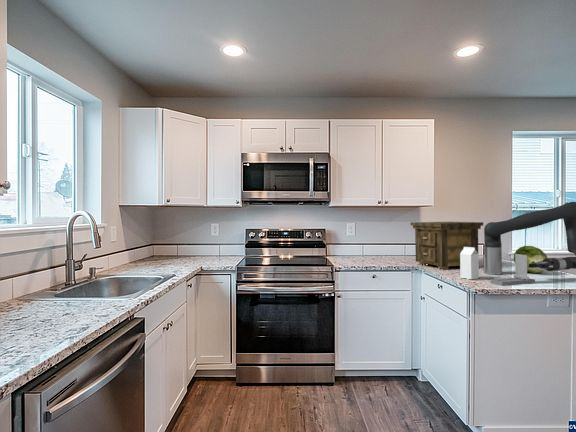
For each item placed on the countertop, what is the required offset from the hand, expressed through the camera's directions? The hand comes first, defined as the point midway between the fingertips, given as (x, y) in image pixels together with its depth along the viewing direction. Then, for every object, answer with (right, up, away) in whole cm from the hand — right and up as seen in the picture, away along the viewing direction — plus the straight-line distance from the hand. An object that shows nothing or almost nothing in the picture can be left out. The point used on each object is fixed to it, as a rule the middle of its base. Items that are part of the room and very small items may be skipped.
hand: (529, 265), depth 193 cm
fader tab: (-6, -7, -1) cm, 9 cm away
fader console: (-11, -9, -3) cm, 15 cm away
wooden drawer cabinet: (-19, -9, +61) cm, 65 cm away
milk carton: (-28, -10, +12) cm, 32 cm away
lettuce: (+22, -9, +29) cm, 37 cm away
